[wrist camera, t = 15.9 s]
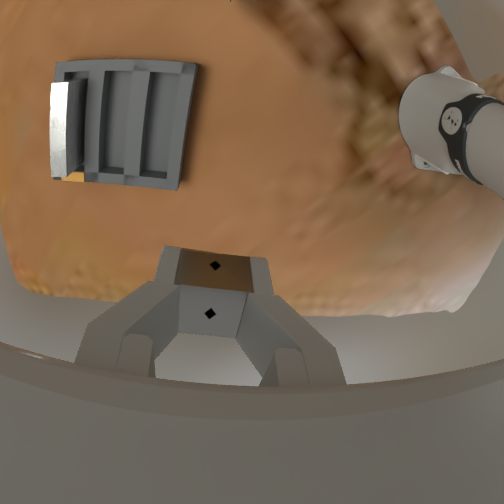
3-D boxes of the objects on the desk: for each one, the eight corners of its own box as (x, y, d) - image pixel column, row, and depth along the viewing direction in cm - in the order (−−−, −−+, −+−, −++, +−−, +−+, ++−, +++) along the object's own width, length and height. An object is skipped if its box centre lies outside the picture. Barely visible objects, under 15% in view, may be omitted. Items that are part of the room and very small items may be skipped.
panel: (91, 77, 31) (68, 82, 25) (87, 159, 37) (66, 177, 31) (76, 78, 30) (51, 83, 24) (73, 158, 37) (51, 176, 31)
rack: (198, 63, 33) (196, 63, 30) (180, 181, 42) (177, 191, 39) (67, 61, 29) (54, 62, 26) (63, 170, 38) (52, 180, 35)
